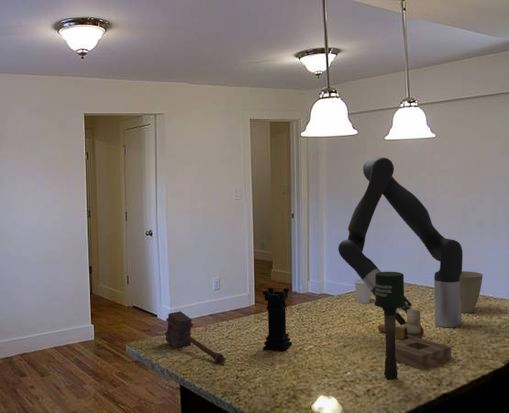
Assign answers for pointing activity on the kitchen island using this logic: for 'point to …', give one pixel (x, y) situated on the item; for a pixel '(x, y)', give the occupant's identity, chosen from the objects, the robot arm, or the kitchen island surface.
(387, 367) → the potato masher grenade
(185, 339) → the hammer
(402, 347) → the block
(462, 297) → the plant pot
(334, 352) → the kitchen island surface
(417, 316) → the peg
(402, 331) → the kendama
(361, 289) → the dixie cup
